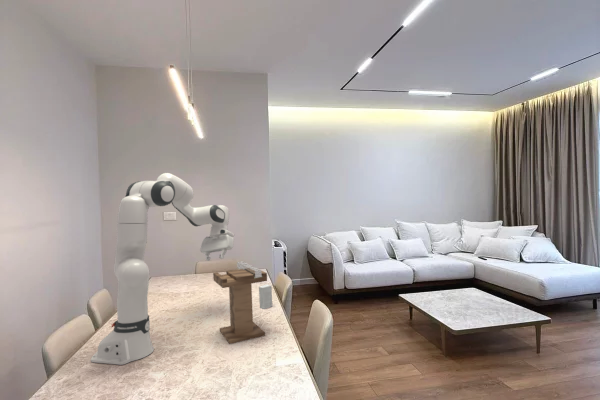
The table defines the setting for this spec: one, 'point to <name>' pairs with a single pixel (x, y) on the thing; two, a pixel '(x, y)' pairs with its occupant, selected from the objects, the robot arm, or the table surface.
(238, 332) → the walnut pedestal
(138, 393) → the table surface
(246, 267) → the aluminium bar
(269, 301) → the skincare box
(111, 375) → the table surface
